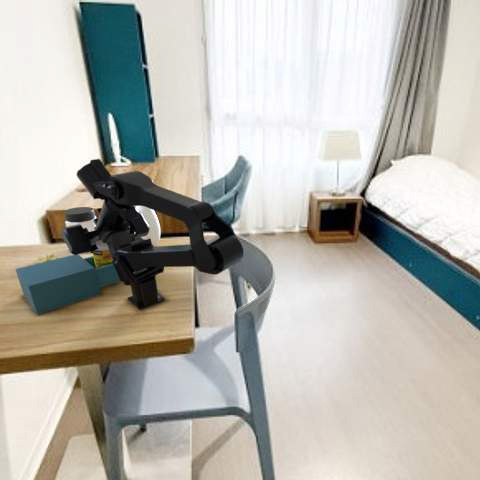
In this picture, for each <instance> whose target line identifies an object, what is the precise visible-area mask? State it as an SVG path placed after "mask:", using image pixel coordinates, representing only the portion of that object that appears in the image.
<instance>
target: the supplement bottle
mask: <svg viewBox="0 0 480 480" xmlns="http://www.w3.org/2000/svg"><path fill="white" fill-rule="evenodd" d="M96 245H97V247H98V249H97V250H94V251H93V253H92V256H93V257H94V261H95V266H96V268H99V267H103V266H107V265H110V264H113V258H112V257H111V253H110V251H109V248H108V245H107V243H103V242H102V240H100V241H97V243H96Z"/></svg>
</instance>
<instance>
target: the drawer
mask: <svg viewBox="0 0 480 480" xmlns="http://www.w3.org/2000/svg"><path fill="white" fill-rule="evenodd" d="M83 259H84V260H86V261H87V262H88V263H89V264H91V265H92V266H93V267H94V268H95V271H96V276H97V280H98V285H99V289H100V288H103V287H106V286H109V285H112V284H116V283H119V282H121V281H120V278H119V276H118V274H117V271H116V269H115V267H114V264H110V265H107V266H103V267H99V268H96V266H95V261H94V257H93V255H92V256H88V257H83Z"/></svg>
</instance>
